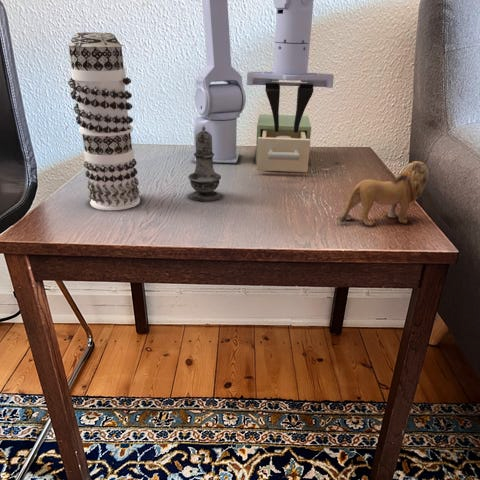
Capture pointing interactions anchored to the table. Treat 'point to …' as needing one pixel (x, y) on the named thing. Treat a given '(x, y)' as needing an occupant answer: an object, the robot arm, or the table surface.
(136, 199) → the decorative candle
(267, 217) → the table surface
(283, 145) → the drawer
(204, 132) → the stone fountain
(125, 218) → the table surface
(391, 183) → the lion figurine
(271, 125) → the cabinet
